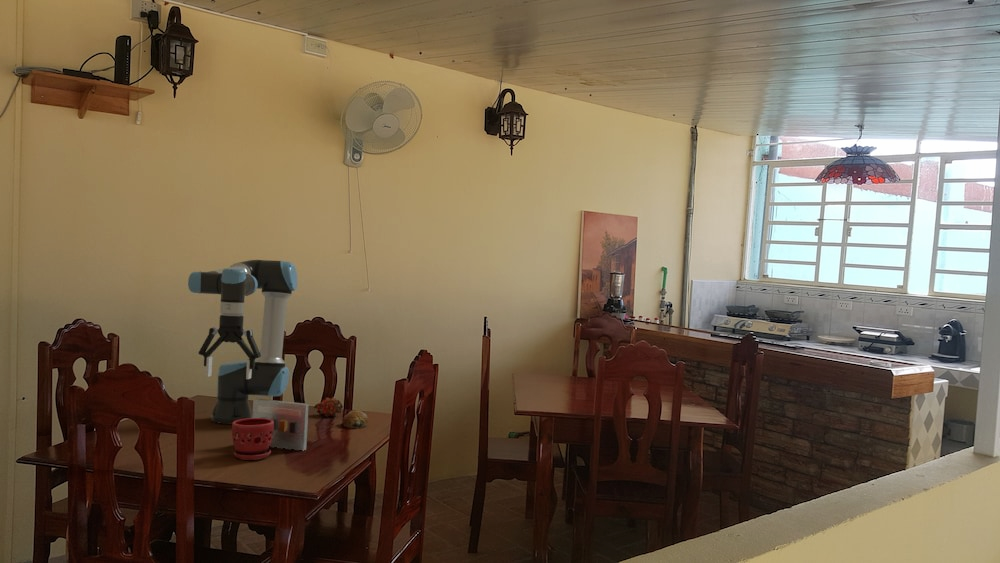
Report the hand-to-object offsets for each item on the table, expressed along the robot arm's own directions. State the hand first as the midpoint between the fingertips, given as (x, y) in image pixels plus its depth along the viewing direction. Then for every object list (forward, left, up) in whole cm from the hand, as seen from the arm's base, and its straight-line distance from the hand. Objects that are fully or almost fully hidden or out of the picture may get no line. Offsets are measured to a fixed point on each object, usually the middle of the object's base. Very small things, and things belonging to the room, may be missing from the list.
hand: (228, 377), depth 242 cm
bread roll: (+25, +52, -25) cm, 63 cm away
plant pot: (+11, -3, -25) cm, 28 cm away
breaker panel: (+13, +11, -25) cm, 31 cm away
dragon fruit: (+7, +63, -25) cm, 69 cm away
